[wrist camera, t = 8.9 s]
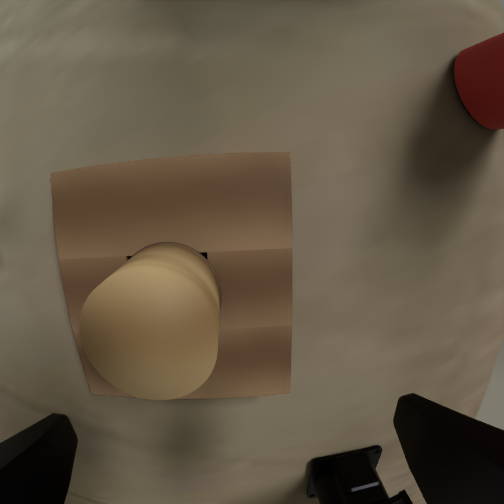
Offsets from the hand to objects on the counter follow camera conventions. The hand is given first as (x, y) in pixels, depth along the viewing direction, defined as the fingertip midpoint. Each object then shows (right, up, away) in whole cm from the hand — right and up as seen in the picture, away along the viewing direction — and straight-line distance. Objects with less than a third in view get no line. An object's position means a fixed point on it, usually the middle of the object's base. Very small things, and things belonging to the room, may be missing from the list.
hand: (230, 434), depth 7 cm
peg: (-4, +3, +11) cm, 12 cm away
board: (-4, +3, +11) cm, 12 cm away
